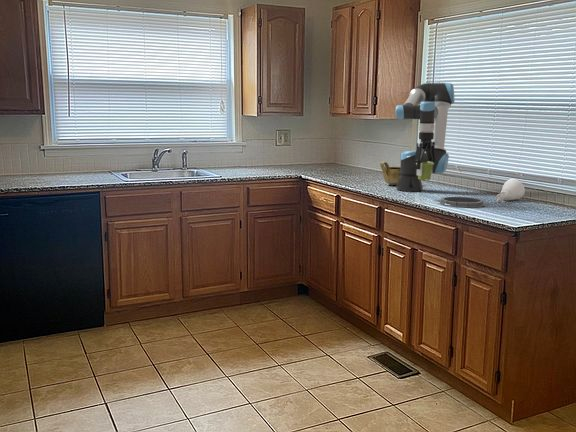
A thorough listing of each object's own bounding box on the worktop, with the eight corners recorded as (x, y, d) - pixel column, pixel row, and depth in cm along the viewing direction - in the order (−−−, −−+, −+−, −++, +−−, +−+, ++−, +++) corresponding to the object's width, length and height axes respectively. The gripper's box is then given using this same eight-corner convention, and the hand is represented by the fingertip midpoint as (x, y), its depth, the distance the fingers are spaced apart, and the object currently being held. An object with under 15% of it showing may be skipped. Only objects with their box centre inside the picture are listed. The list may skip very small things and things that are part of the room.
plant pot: (411, 179, 311) (412, 163, 309) (419, 178, 318) (420, 161, 317) (428, 181, 305) (429, 164, 304) (436, 179, 313) (437, 163, 311)
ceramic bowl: (388, 187, 357) (389, 163, 354) (373, 184, 372) (374, 160, 369) (418, 186, 366) (419, 162, 363) (402, 182, 381) (403, 159, 378)
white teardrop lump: (499, 184, 301) (515, 174, 313) (484, 196, 310) (499, 186, 321) (514, 202, 299) (529, 191, 311) (498, 214, 307) (513, 203, 319)
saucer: (431, 203, 299) (431, 199, 298) (453, 199, 314) (453, 195, 314) (471, 209, 284) (471, 204, 283) (492, 204, 299) (492, 199, 298)
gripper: (421, 132, 297) (418, 177, 301) (444, 131, 312) (441, 173, 316) (408, 132, 302) (406, 175, 306) (431, 130, 317) (429, 172, 322)
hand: (424, 174), depth 311 cm, fingers closed on plant pot, 9 cm apart
